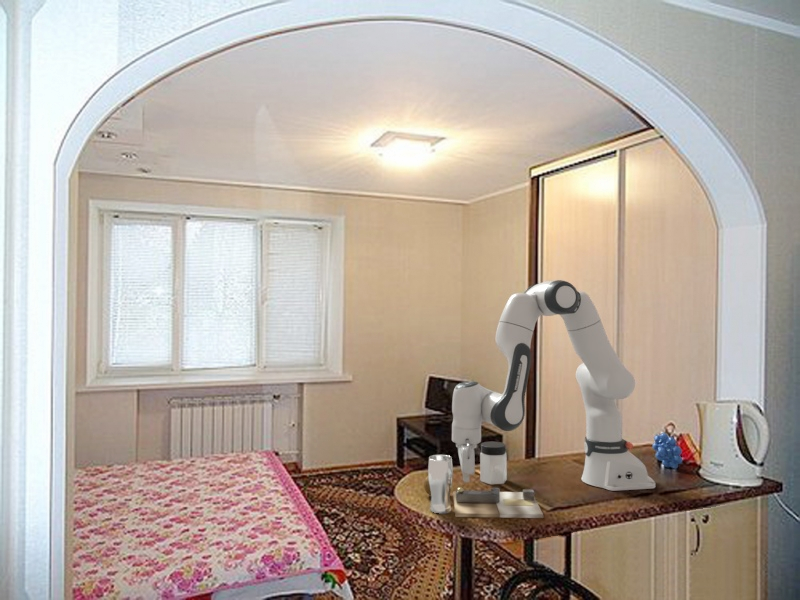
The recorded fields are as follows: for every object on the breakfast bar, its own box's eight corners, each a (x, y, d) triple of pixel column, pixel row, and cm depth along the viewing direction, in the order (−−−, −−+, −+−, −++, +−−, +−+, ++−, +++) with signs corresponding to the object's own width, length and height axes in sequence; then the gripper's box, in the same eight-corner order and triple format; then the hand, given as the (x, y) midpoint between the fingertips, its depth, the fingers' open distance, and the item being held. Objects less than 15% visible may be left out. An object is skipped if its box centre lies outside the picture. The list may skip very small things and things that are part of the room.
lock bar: (499, 499, 170) (498, 486, 170) (500, 503, 167) (500, 490, 167) (455, 498, 170) (455, 486, 170) (456, 502, 167) (456, 489, 167)
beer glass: (425, 512, 163) (424, 459, 163) (432, 504, 170) (432, 453, 170) (449, 516, 161) (448, 462, 161) (455, 507, 167) (455, 455, 167)
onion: (452, 493, 179) (452, 467, 179) (443, 501, 172) (443, 474, 172) (430, 490, 182) (430, 464, 182) (419, 498, 175) (419, 471, 175)
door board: (531, 495, 177) (531, 484, 177) (543, 517, 159) (543, 505, 159) (452, 494, 178) (452, 483, 178) (455, 516, 160) (455, 504, 160)
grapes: (644, 465, 208) (644, 431, 208) (657, 462, 211) (657, 429, 211) (673, 473, 197) (673, 438, 197) (686, 470, 201) (686, 436, 200)
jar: (483, 485, 187) (483, 448, 186) (477, 477, 195) (476, 441, 195) (510, 483, 188) (510, 447, 188) (502, 476, 196) (502, 440, 196)
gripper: (479, 444, 165) (479, 492, 165) (474, 428, 186) (474, 471, 186) (457, 443, 165) (457, 492, 165) (454, 427, 186) (454, 470, 186)
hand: (466, 481), depth 176 cm, fingers closed
